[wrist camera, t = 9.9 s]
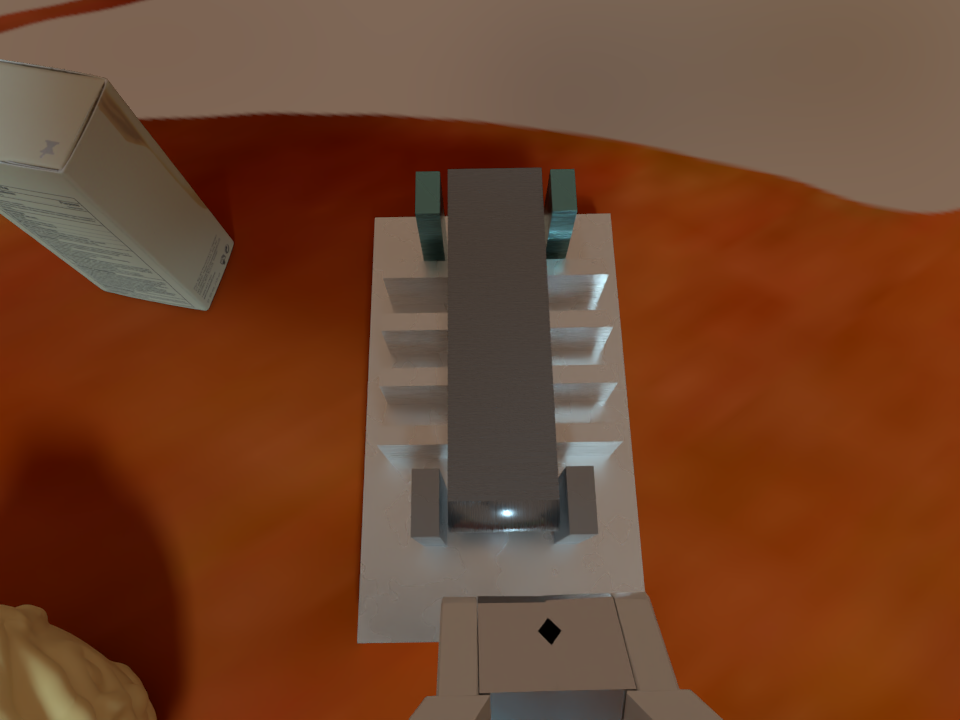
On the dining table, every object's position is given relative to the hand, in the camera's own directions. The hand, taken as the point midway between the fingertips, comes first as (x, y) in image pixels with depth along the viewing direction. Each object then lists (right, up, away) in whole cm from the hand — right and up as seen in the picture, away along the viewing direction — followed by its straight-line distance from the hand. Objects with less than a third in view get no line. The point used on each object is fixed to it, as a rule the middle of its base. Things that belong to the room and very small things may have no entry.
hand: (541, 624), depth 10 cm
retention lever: (0, -1, +15) cm, 15 cm away
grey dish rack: (0, +1, +23) cm, 22 cm away
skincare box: (-18, +9, +25) cm, 32 cm away
